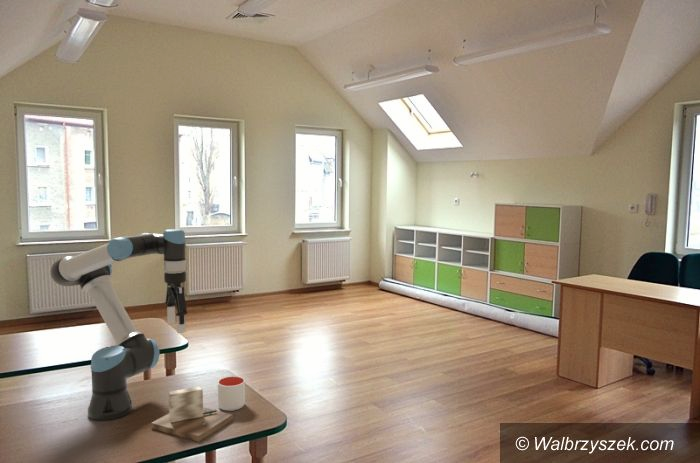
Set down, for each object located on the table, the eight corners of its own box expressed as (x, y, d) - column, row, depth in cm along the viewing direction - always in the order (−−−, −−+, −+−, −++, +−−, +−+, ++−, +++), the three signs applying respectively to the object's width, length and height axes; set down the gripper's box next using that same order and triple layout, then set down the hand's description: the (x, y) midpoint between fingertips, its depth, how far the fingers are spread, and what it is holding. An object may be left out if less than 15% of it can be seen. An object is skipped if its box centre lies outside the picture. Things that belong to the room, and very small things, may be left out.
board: (151, 428, 187) (151, 422, 187) (187, 408, 203) (187, 402, 203) (198, 441, 178) (198, 435, 178) (232, 419, 194) (232, 413, 194)
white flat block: (170, 422, 187) (170, 394, 186) (169, 419, 189) (168, 391, 188) (217, 413, 194) (217, 386, 193) (215, 410, 197) (215, 384, 196)
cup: (238, 413, 200) (238, 387, 199) (213, 410, 202) (213, 384, 201) (248, 402, 210) (248, 377, 209) (224, 399, 212) (224, 375, 211)
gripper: (195, 276, 189) (196, 335, 191) (176, 265, 210) (177, 318, 212) (173, 278, 185) (174, 338, 187) (156, 267, 206) (157, 321, 208)
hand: (176, 328), depth 200 cm, fingers open, 13 cm apart
